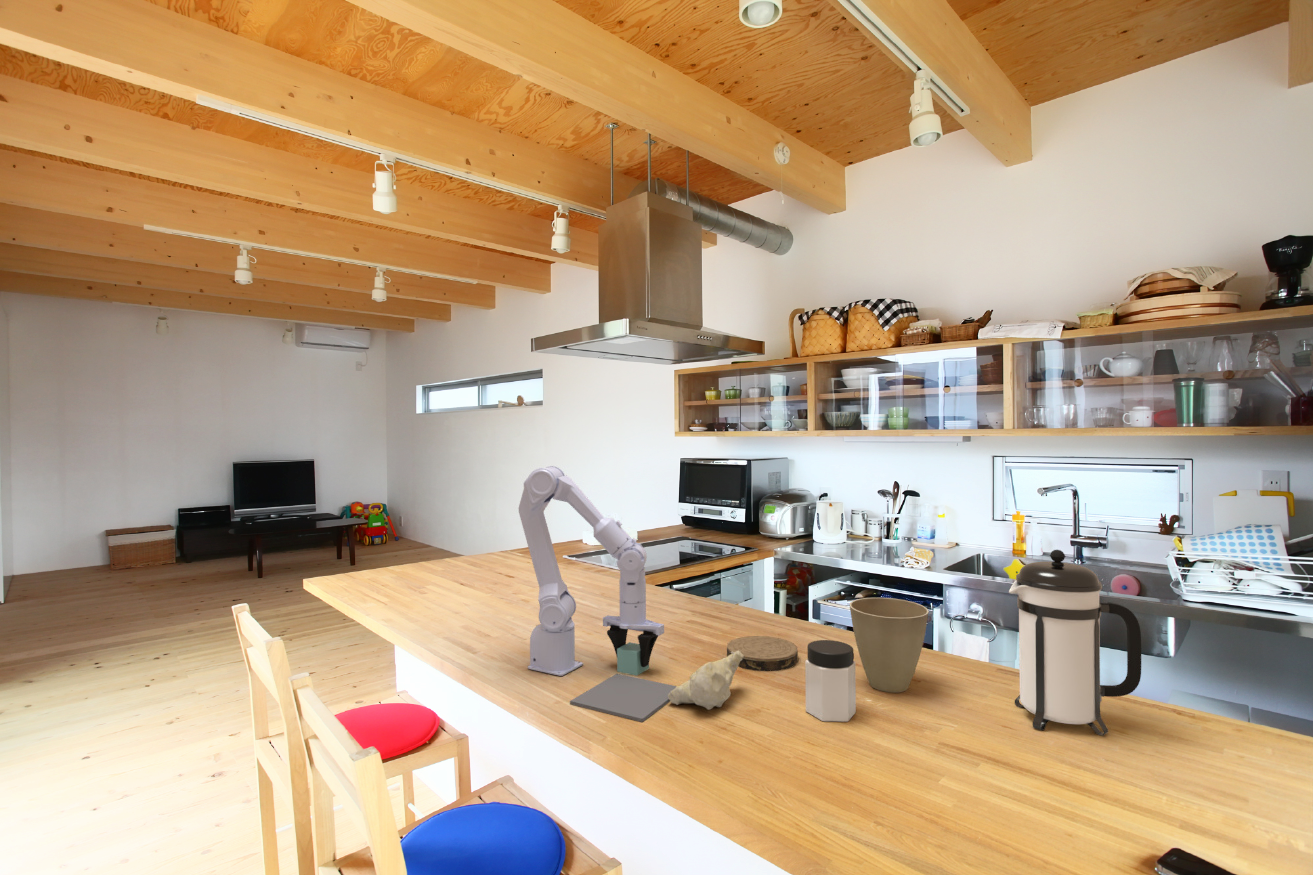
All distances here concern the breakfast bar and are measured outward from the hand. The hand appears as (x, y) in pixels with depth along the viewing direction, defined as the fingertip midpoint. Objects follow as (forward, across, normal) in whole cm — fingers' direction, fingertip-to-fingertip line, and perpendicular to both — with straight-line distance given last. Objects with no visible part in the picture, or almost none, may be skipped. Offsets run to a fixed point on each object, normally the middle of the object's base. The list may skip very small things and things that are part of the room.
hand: (633, 663), depth 139 cm
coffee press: (+2, +80, +16) cm, 82 cm away
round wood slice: (+2, +22, +20) cm, 30 cm away
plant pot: (+2, +50, +17) cm, 53 cm away
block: (+2, 0, 0) cm, 2 cm away
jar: (+2, +43, -1) cm, 43 cm away
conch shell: (+2, +21, -6) cm, 22 cm away
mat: (+1, +7, -13) cm, 15 cm away
